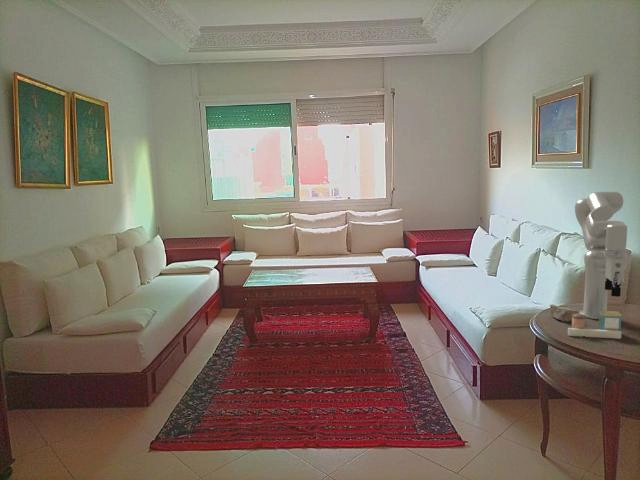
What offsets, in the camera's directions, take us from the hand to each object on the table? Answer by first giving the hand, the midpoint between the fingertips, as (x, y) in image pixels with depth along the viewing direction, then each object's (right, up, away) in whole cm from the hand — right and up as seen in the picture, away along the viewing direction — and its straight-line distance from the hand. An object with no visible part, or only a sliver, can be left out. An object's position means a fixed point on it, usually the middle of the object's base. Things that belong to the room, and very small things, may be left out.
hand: (612, 292), depth 208 cm
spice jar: (-12, -18, +5) cm, 22 cm away
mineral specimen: (-9, -15, +23) cm, 29 cm away
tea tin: (+1, -18, +3) cm, 18 cm away
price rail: (-7, -19, +1) cm, 20 cm away
